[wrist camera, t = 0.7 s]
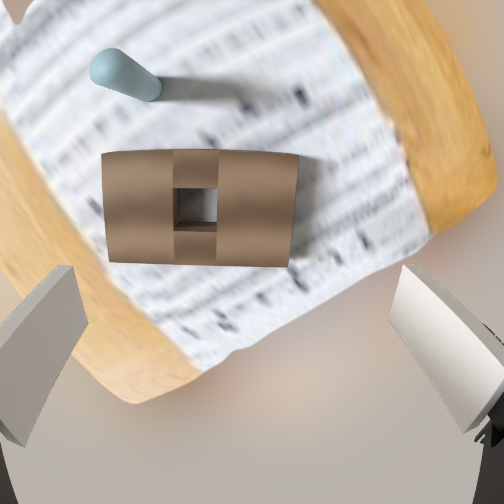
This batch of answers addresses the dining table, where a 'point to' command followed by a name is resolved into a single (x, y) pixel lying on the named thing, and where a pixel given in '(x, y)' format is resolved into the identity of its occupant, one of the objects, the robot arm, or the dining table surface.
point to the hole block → (199, 233)
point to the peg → (124, 75)
